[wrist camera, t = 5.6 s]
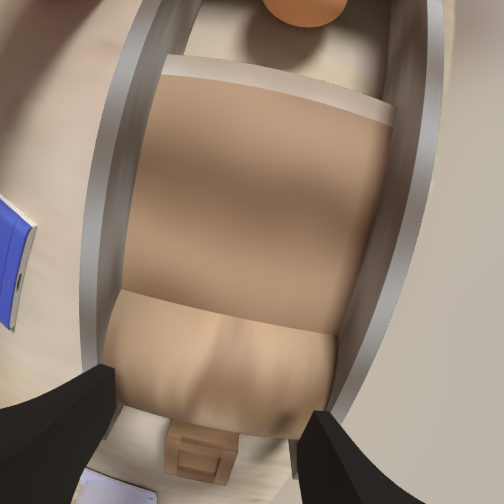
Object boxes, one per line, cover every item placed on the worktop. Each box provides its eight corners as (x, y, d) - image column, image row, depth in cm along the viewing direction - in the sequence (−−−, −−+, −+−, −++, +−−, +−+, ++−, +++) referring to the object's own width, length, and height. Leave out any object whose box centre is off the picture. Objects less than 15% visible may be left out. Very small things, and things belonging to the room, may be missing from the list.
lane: (292, 389, 21) (309, 493, 11) (138, 357, 20) (85, 447, 11) (381, 17, 15) (444, -54, 5) (219, -21, 14) (201, -112, 5)
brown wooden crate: (228, 454, 17) (225, 485, 15) (172, 442, 17) (163, 472, 14) (239, 418, 17) (237, 452, 14) (176, 405, 16) (166, 437, 14)
